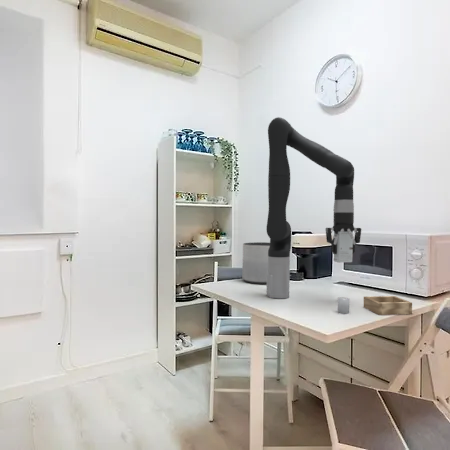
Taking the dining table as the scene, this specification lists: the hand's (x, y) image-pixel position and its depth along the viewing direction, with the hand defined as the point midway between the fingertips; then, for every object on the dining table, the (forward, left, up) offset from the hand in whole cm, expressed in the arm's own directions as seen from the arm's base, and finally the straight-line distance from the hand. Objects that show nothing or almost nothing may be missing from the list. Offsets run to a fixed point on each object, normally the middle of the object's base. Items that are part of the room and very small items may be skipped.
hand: (343, 253), depth 133 cm
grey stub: (-5, -13, -20) cm, 24 cm away
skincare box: (0, 0, -3) cm, 3 cm away
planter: (-21, +49, -20) cm, 57 cm away
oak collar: (+12, -12, -20) cm, 26 cm away
